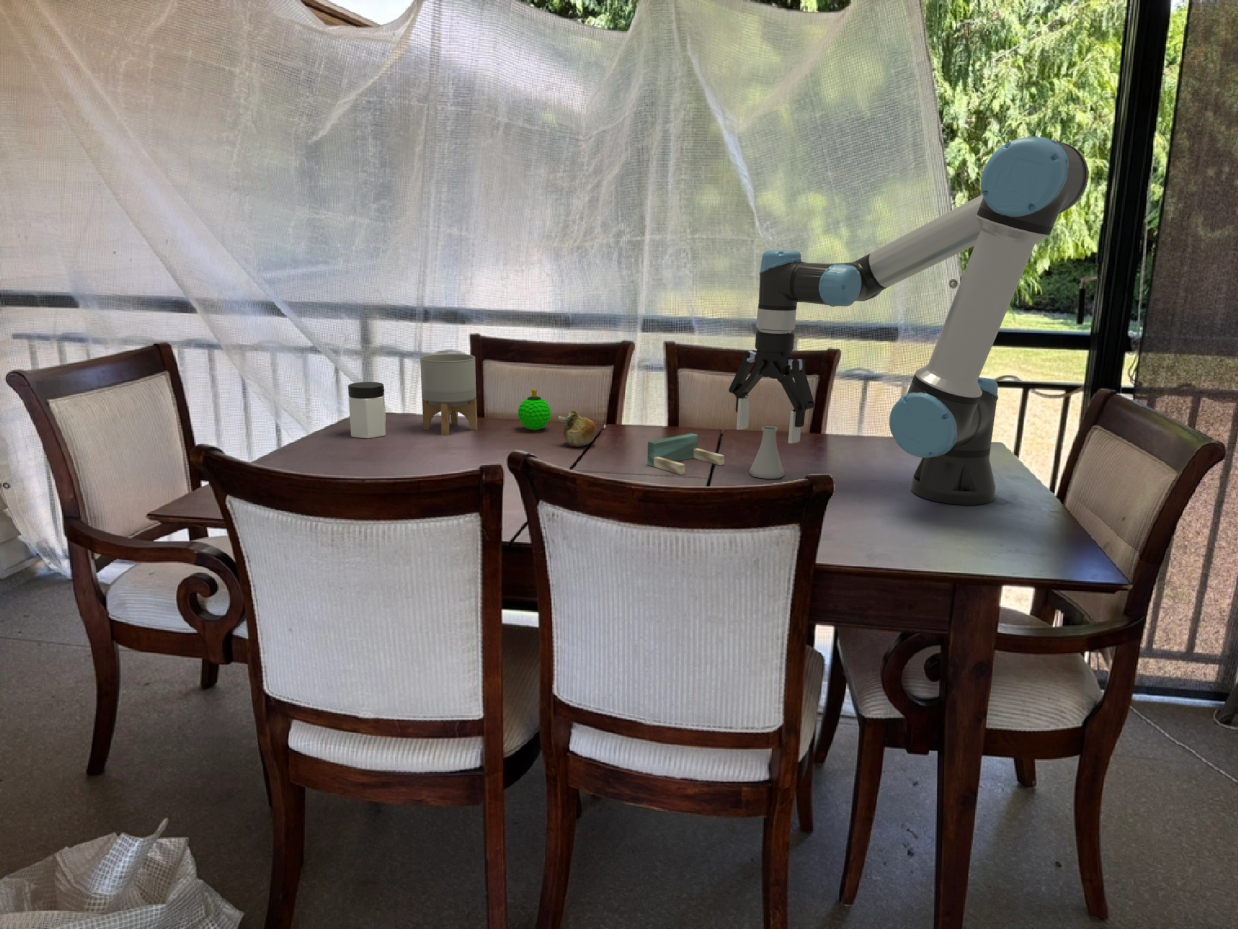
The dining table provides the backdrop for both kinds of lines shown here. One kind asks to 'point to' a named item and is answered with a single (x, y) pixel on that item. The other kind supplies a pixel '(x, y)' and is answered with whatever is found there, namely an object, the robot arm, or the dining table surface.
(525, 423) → the ornament
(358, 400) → the jar
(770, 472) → the flask
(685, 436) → the pocket
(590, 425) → the onion
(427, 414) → the planter
